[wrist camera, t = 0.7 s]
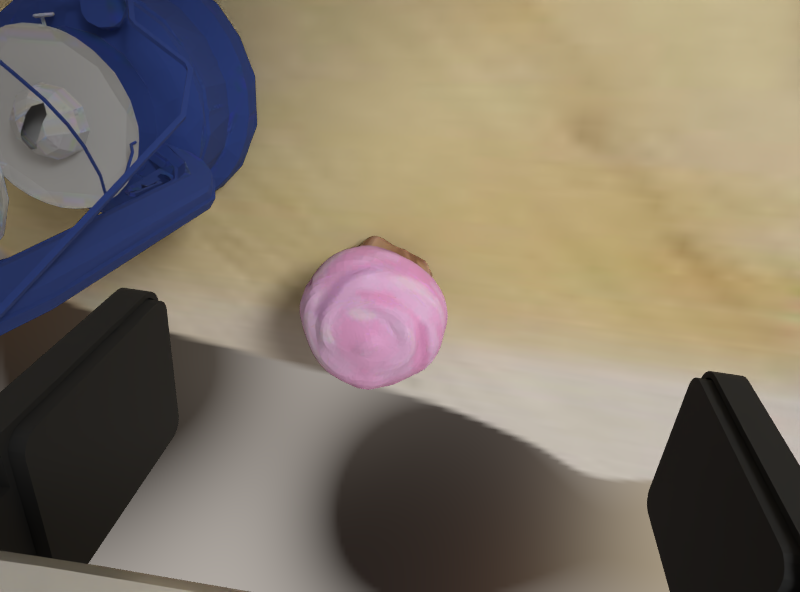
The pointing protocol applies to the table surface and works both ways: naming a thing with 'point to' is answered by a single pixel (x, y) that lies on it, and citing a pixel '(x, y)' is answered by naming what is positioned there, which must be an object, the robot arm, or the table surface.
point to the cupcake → (373, 314)
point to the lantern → (114, 131)
